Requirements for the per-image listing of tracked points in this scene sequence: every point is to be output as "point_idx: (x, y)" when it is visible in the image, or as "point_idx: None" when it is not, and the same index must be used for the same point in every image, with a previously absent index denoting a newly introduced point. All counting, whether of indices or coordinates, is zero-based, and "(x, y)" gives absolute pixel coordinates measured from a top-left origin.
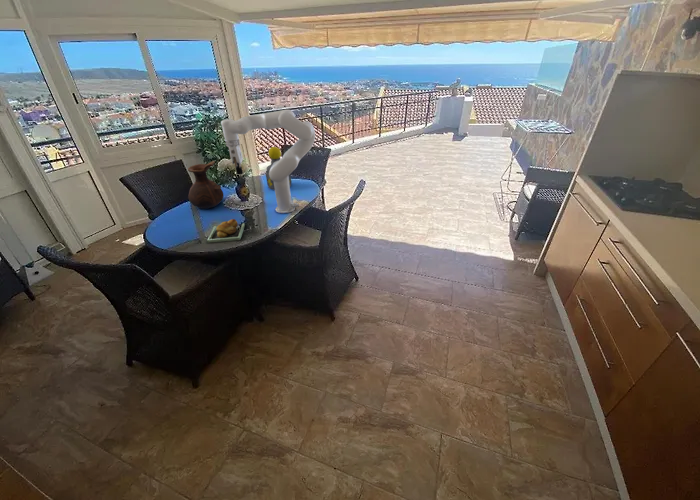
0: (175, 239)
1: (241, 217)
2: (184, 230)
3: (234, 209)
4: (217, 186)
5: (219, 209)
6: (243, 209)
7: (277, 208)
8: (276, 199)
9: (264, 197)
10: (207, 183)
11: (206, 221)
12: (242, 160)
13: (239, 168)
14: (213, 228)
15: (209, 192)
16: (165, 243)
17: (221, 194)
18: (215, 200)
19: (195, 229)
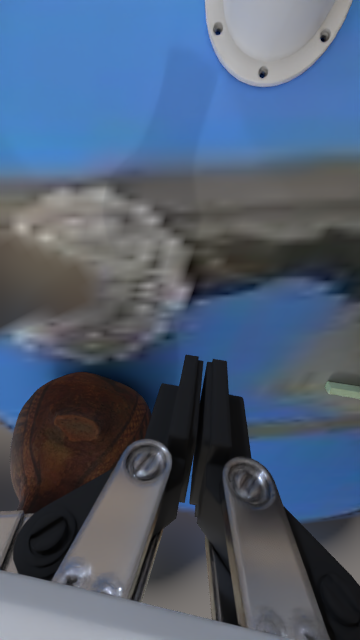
0: (345, 477)
1: (272, 294)
2: (291, 461)
3: (171, 323)
4: (70, 429)
5: (154, 375)
6: (182, 286)
7: (264, 65)
8: (304, 6)
9: (48, 173)
10: (76, 484)
11: (250, 411)
12: (45, 630)
13: (249, 467)
14: (355, 396)
15: (122, 450)
16: (356, 494)
17: (93, 391)
18: (137, 406)
19: (301, 437)
